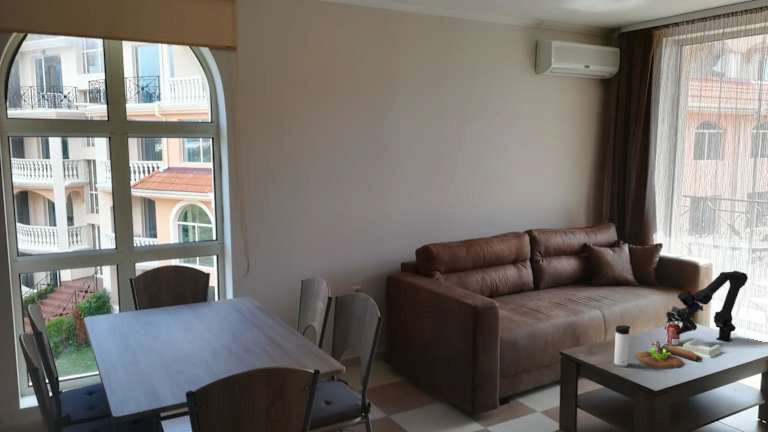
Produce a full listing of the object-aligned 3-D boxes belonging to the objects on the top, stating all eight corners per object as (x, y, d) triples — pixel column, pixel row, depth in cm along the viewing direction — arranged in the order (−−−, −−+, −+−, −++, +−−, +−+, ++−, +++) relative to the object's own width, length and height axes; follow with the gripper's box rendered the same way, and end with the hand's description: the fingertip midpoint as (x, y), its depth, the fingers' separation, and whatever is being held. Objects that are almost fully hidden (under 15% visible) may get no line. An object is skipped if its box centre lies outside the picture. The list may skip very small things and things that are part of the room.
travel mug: (627, 368, 285) (629, 328, 283) (612, 365, 289) (614, 326, 286) (629, 364, 290) (631, 325, 288) (615, 361, 294) (617, 323, 292)
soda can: (680, 346, 315) (681, 324, 314) (667, 345, 317) (668, 324, 315) (677, 342, 322) (678, 321, 321) (663, 341, 323) (665, 320, 322)
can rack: (693, 345, 318) (693, 338, 317) (720, 352, 307) (721, 345, 306) (681, 350, 310) (682, 343, 309) (709, 357, 299) (710, 351, 298)
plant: (627, 358, 300) (628, 337, 298) (656, 353, 307) (658, 332, 305) (659, 372, 281) (660, 349, 280) (689, 366, 288) (690, 344, 287)
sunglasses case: (704, 358, 298) (702, 348, 295) (698, 367, 295) (695, 358, 292) (670, 348, 312) (667, 339, 310) (664, 357, 309) (661, 348, 307)
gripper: (669, 297, 326) (651, 317, 326) (693, 306, 308) (673, 327, 307) (681, 310, 329) (662, 330, 328) (705, 319, 311) (686, 341, 310)
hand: (670, 331), depth 318 cm, fingers open, 9 cm apart
